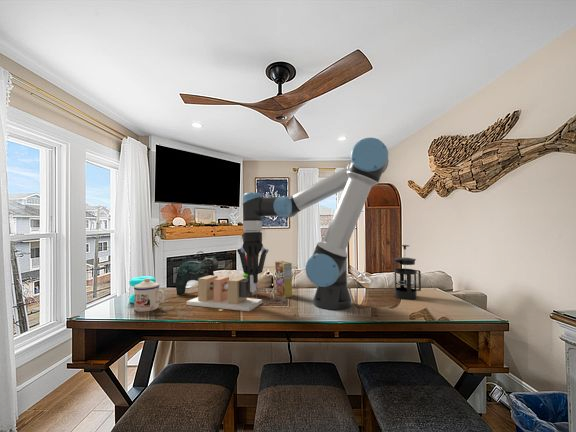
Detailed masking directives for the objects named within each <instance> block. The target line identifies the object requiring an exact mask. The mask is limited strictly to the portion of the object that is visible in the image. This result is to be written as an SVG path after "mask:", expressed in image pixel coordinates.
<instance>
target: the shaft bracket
mask: <svg viewBox="0 0 576 432" xmlns="http://www.w3.org/2000/svg"><path fill="white" fill-rule="evenodd" d="M245 279H246V280H247V278H245V277H243V276H238V277H237V276H236V277H235V278H231V279H230V276H219V277H218V275H214V276H212V275H209V276H205V277H202V278H198V281H197V294H198V295H197V297H193V298H190V299H189V300H187V301H186V305H187V306H196V307H204V308H212V309H213V308H215V309H222V310H224V309H225V310H234V311H243V312H250V311H252V310H253V309H255V308H257V307H258V306H260V305H261V304H263V299H259V298H249V297H246V298H244V297H239V282H240V281H242V280H245ZM210 283H214V289H210ZM222 284H228V290H222Z"/></svg>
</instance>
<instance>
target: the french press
mask: <svg viewBox="0 0 576 432" xmlns="http://www.w3.org/2000/svg"><path fill="white" fill-rule="evenodd" d="M399 246H400V247H403V250H404V256H403V257H396V258H395V257H394V260H395V263H398V264H399V265H403V266H404V268H394V297H395V298H396V299H399V300H400V299H401V300H406V301H407V300H409V301H411V300H417V299H418V296H417V294H418V293H417V292H421V290H422V285H421V284H422V281H421V279H422V277H421V276H422V275H421V270H417V269H413V268H406V266H414V265H415V264H416V262H415V261H417V258H410V257H406V250H407V247H410V245H409V244H401V245H399ZM417 272H418V273H417ZM397 274H398V275H399V280H397ZM417 274H418V276H417ZM412 275H414V276H413V278H414V281H412ZM417 277H418V278H417ZM417 279H418V288H417ZM398 285H399V286H398ZM397 286H398V287H397ZM412 286H414V288H412Z"/></svg>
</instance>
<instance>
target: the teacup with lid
mask: <svg viewBox="0 0 576 432" xmlns="http://www.w3.org/2000/svg"><path fill="white" fill-rule="evenodd" d="M160 286H161V285H160V283H158V282H156V281H155V282H153V281H150V279H149V278H145V279H144V281H143V282H141V283H140V284H137V285H135V286H134V287H133V291H134V293H133V294H134V303H133V305H134V306H133V307H134V308H133V309H134V311H135V312H138V313H139V312H140V313H141V312H143V313H144V312H150V311H155V310H157V309H159V307H160V303H163V302H164V300H165V298H166V292H164V290H162V289H160ZM160 294H161V295H162V296H161V298H160Z"/></svg>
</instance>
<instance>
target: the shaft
mask: <svg viewBox="0 0 576 432" xmlns="http://www.w3.org/2000/svg"><path fill="white" fill-rule="evenodd" d="M210 289H214V283H210ZM222 290H228V284H222ZM250 295H252V292H250V283H249V282H248V280H246V279H245V280H242V281H240V282H239V297H244V298H246V297H247V298H249V297H251V296H250Z"/></svg>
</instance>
